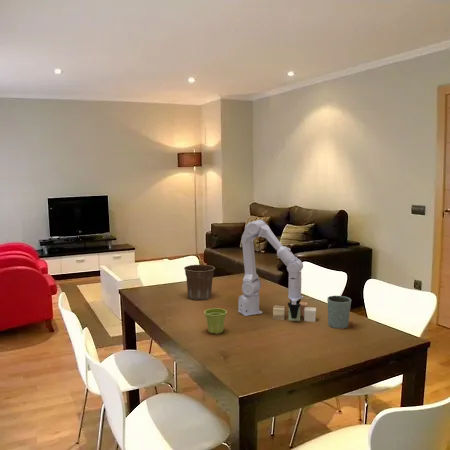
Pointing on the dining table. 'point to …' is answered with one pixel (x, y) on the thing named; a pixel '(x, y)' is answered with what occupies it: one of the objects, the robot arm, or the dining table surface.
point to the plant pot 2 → (215, 319)
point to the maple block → (279, 312)
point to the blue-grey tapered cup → (338, 311)
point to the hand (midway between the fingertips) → (294, 315)
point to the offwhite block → (310, 314)
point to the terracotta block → (302, 308)
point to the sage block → (297, 315)
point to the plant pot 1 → (199, 281)
